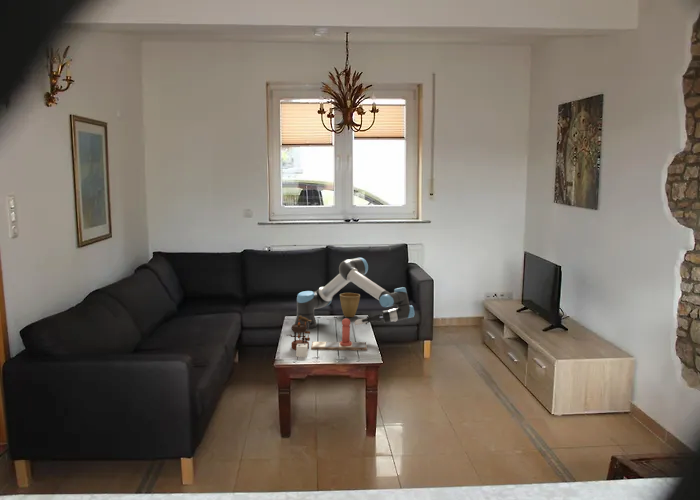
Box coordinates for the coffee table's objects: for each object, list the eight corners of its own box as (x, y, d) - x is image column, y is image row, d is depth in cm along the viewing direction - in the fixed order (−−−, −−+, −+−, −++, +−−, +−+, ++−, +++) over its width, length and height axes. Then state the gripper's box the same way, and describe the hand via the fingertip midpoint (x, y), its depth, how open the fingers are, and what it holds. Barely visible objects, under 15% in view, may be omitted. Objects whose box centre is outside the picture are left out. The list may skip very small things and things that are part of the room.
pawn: (339, 346, 354) (340, 319, 352) (340, 342, 361) (340, 316, 359) (351, 346, 354) (351, 319, 352) (351, 342, 361) (352, 317, 359)
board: (311, 349, 352) (311, 347, 352) (312, 343, 364) (312, 341, 364) (366, 350, 352) (366, 347, 352) (366, 344, 364) (366, 341, 364)
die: (296, 356, 338) (296, 346, 337) (297, 353, 344) (297, 343, 343) (306, 356, 338) (306, 346, 337) (307, 353, 344) (307, 343, 343)
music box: (311, 344, 362) (311, 313, 357) (311, 351, 351) (312, 319, 347) (286, 345, 360) (286, 313, 356) (285, 352, 350) (285, 319, 345)
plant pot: (353, 319, 424) (354, 297, 422) (335, 316, 431) (336, 295, 429) (363, 315, 437) (363, 294, 435) (345, 312, 444) (345, 291, 442)
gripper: (393, 320, 353) (358, 327, 351) (388, 322, 377) (355, 329, 375) (390, 308, 354) (356, 315, 352) (385, 311, 378) (353, 317, 376)
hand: (355, 322), depth 363 cm, fingers open, 13 cm apart
